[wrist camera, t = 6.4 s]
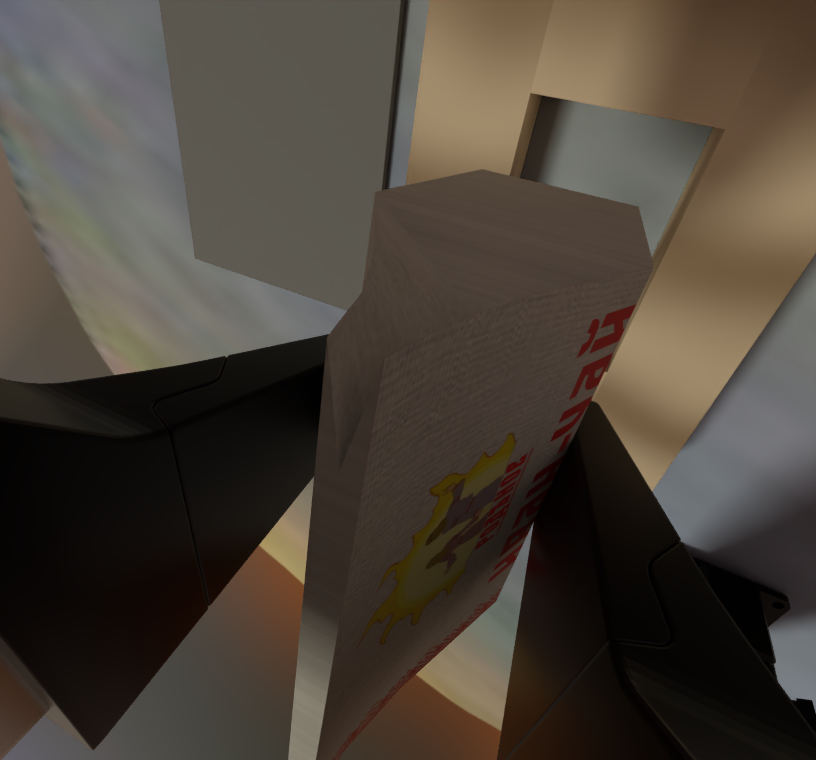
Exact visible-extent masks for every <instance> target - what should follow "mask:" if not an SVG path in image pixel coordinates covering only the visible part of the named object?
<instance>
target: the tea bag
mask: <svg viewBox="0 0 816 760" xmlns="http://www.w3.org/2000/svg"><path fill="white" fill-rule="evenodd" d="M653 269H654V265H653V261H652V257H651V253H650V250H649V246H648V242H647V238H646V234H645V230H644V226H643V222H642V219H641V215H640V211H639V207H637V206H633V205H629V204H625V203H621V202H617V201H612V200H608V199H604V198H600V197H596V196H592V195H588V194H584V193H579V192H575V191H571V190H567V189H563V188H559V187H555V186H550V185H546V184H542V183H538V182H534V181H530V180H526V179H521V178H517V177H513V176H509V175H505V174H501V173H497V172H492V171H488V170H484V169H481V170H476V171H471V172H466V173H462V174H457V175H452V176H447V177H443V178H438V179H433V180H428V181H424V182H419V183H414V184H409V185H405V186H400V187H395V188H390V189H386V190H381V191H376V192H375V196H374V204H373V212H372V219H371V227H370V235H369V242H368V250H367V258H366V266H365V273H364V281H363V289H362V293H361V294H360V295H359V297H358V298H357V299H356V300H355V302H354V303H353V304H352V306H351V307H350V308H349V309H348V311H347V312H346V313H345V315H344V316H343V317H342V319H341V320H340V321H339V322H338V324H337V325H336V326H335V328H334V329H333V330H332V331H331V333H330V334H329V335H328V337H327V344H326V355H325V366H324V376H323V387H322V398H321V409H320V420H319V431H318V442H317V453H316V464H315V474H314V485H313V496H312V507H311V518H310V529H309V540H308V551H307V562H306V572H305V583H304V594H303V605H302V617H301V627H300V638H299V649H298V660H297V671H296V682H295V693H294V704H293V714H292V726H291V736H290V747H289V758H288V760H338V759H339V757H340V756H341V755H342V753H343V752H344V750H345V749H346V748H347V746H348V745H349V744H350V743H351V742H352V741H353V740H354V739H355V738H356V736H357V735H358V734H359V733H360V732H361V731H362V730H363V729H364V727H365V726H366V725H367V724H368V723H369V722H370V721H371V720H372V719H373V718H374V716H375V715H376V714H377V713H378V712H379V711H380V710H381V709H382V708H383V706H384V705H385V704H386V703H387V702H388V701H389V700H390V699H391V698H392V696H393V695H394V694H395V693H396V692H397V691H398V690H399V689H400V688H401V687H402V686H403V685H404V684H405V683H406V682H408V681H409V680H410V679H411V678H412V677H413V676H414V675H415V674H416V673H417V672H419V671H420V670H421V669H422V668H423V667H424V666H425V665H426V664H427V663H428V662H430V661H431V660H432V659H433V658H434V657H435V656H436V655H437V654H438V653H439V652H441V651H442V650H443V649H444V648H445V647H446V646H447V645H448V644H449V643H450V642H452V641H453V640H454V639H455V638H456V637H457V636H458V635H459V634H460V633H461V632H463V631H464V630H465V629H466V628H467V627H468V626H469V625H470V624H471V623H472V622H474V621H475V620H476V619H477V618H478V617H479V616H480V615H481V614H482V613H483V612H485V611H486V610H487V609H488V608H489V607H490V606H491V605H492V604H493V603H494V602H496V600H497V598H498V596H499V594H500V592H501V589H502V587H503V585H504V583H505V581H506V579H507V577H508V575H509V573H510V570H511V568H512V566H513V564H514V562H515V560H516V558H517V556H518V554H519V551H520V549H521V547H522V545H523V543H524V541H525V539H526V537H527V535H528V532H529V530H530V528H531V526H532V524H533V522H534V520H535V518H536V516H537V513H538V511H539V509H540V507H541V505H542V503H543V501H544V499H545V497H546V494H547V492H548V490H549V488H550V486H551V484H552V482H553V480H554V478H555V475H556V473H557V471H558V469H559V467H560V465H561V463H562V461H563V459H564V456H565V454H566V452H567V450H568V448H569V446H570V444H571V442H572V440H573V437H574V435H575V433H576V431H577V429H578V427H579V425H580V423H581V421H582V419H583V416H584V414H585V412H586V410H587V408H588V406H589V404H590V402H591V400H592V397H593V395H594V393H595V391H596V389H597V387H598V385H599V383H600V381H601V378H602V376H603V374H604V372H605V370H606V368H607V366H608V364H609V362H610V359H611V357H612V355H613V353H614V351H615V349H616V347H617V345H618V343H619V340H620V338H621V336H622V334H623V332H624V330H625V328H626V326H627V324H628V321H629V319H630V317H631V315H632V313H633V311H634V309H635V307H636V305H637V302H638V300H639V298H640V296H641V294H642V292H643V290H644V288H645V286H646V283H647V281H648V279H649V277H650V275H651V273H652V271H653Z"/></svg>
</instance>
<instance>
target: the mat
mask: <svg viewBox="0 0 816 760" xmlns="http://www.w3.org/2000/svg"><path fill="white" fill-rule="evenodd" d="M159 4H160V11H161V18H162V25H163V32H164V39H165V46H166V53H167V61H168V68H169V75H170V82H171V89H172V96H173V103H174V110H175V117H176V125H177V132H178V139H179V146H180V153H181V160H182V167H183V174H184V182H185V189H186V196H187V203H188V210H189V217H190V224H191V231H192V239H193V246H194V253H195V259H198V260H201V261H204V262H207V263H210V264H213V265H216V266H219V267H222V268H225V269H227V270H230V271H233V272H236V273H239V274H242V275H245V276H248V277H251V278H254V279H257V280H260V281H262V282H265V283H268V284H271V285H274V286H277V287H280V288H283V289H286V290H289V291H292V292H295V293H298V294H300V295H303V296H306V297H309V298H312V299H315V300H318V301H321V302H324V303H327V304H330V305H333V306H336V307H338V308H341V309H344V310H347V311H348V309H349V308H350V307H351V306H352V304H353V303H354V302H355V300H356V299H357V298H358V297H359V295H360V294H361V293H362V289H363V281H364V273H365V266H366V258H367V250H368V242H369V235H370V227H371V219H372V212H373V204H374V196H375V192H376V191H381V190H385V188H386V179H387V169H388V159H389V150H390V140H391V131H392V121H393V112H394V102H395V93H396V83H397V74H398V64H399V55H400V45H401V36H402V26H403V16H404V7H405V0H159Z"/></svg>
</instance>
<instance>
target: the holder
mask: <svg viewBox="0 0 816 760" xmlns="http://www.w3.org/2000/svg"><path fill="white" fill-rule="evenodd" d="M542 95H544V96H549V97H554V98H560V99H565V100H571V101H576V102H581V103H587V104H592V105H597V106H603V107H608V108H613V109H619V110H624V111H630V112H635V113H640V114H646V115H651V116H656V117H662V118H667V119H673V120H678V121H683V122H689V123H694V124H699V125H705V126H710V127H713V129H712V131H711V134H710V136H709V138H708V140H707V142H706V144H705V146H704V148H703V150H702V153H701V155H700V157H699V159H698V161H697V163H696V165H695V167H694V170H693V172H692V174H691V176H690V178H689V180H688V182H687V184H686V187H685V189H684V191H683V193H682V195H681V197H680V199H679V201H678V203H677V206H676V208H675V210H674V212H673V214H672V216H671V218H670V220H669V223H668V225H667V227H666V229H665V231H664V233H663V235H662V237H661V239H660V242H659V244H658V246H657V248H656V250H655V252H654V254H653V256H652V261H653V265H654V269H653V271H652V273H651V275H650V277H649V279H648V281H647V283H646V286H645V288H644V290H643V292H642V294H641V296H640V298H639V300H638V302H637V305H636V307H635V309H634V311H633V313H632V315H631V317H630V319H629V321H628V324H627V326H626V328H625V330H624V332H623V334H622V336H621V338H620V340H619V343H618V345H617V347H616V349H615V351H614V353H613V355H612V357H611V359H610V362H609V364H608V366H607V368H606V370H605V372H604V374H603V376H602V378H601V381H600V383H599V385H598V387H597V389H596V391H595V393H594V395H593V397H592V401H594V402H597V403H598V404H599V405H600V406H601V408H602V409H603V411H604V413H605V414H606V416H607V418H608V419H609V421H610V423H611V424H612V426H613V428H614V429H615V431H616V433H617V434H618V436H619V438H620V439H621V441H622V443H623V444H624V446H625V448H626V449H627V451H628V453H629V454H630V456H631V457H632V459H633V461H634V462H635V464H636V466H637V467H638V469H639V471H640V472H641V474H642V476H643V477H644V479H645V481H646V482H647V484H648V486H649V487H650V489H651V491H653V489H654V488H655V486H656V485H657V483H658V482H659V480H660V479H661V478H662V476H663V475H664V473H665V472H666V470H667V469H668V467H669V466H670V464H671V463H672V462H673V460H674V459H675V457H676V456H677V454H678V453H679V451H680V450H681V448H682V447H683V446H684V444H685V443H686V441H687V440H688V438H689V437H690V435H691V434H692V432H693V431H694V430H695V428H696V427H697V425H698V424H699V422H700V421H701V419H702V418H703V416H704V415H705V414H706V412H707V411H708V409H709V408H710V406H711V405H712V403H713V402H714V400H715V399H716V398H717V396H718V395H719V393H720V392H721V390H722V389H723V387H724V386H725V384H726V383H727V382H728V380H729V379H730V377H731V376H732V374H733V373H734V371H735V370H736V368H737V367H738V366H739V364H740V363H741V361H742V360H743V358H744V357H745V355H746V354H747V352H748V351H749V350H750V348H751V347H752V345H753V344H754V342H755V341H756V339H757V338H758V336H759V335H760V334H761V332H762V331H763V329H764V328H765V326H766V325H767V323H768V322H769V320H770V319H771V318H772V316H773V315H774V313H775V312H776V310H777V309H778V307H779V306H780V304H781V303H782V302H783V300H784V299H785V297H786V296H787V294H788V293H789V291H790V290H791V288H792V287H793V286H794V284H795V283H796V281H797V280H798V278H799V277H800V275H801V274H802V272H803V271H804V270H805V268H806V267H807V265H808V264H809V262H810V261H811V259H812V258H813V256H814V255H815V254H816V0H430V1H429V9H428V17H427V25H426V32H425V40H424V48H423V56H422V63H421V71H420V79H419V87H418V94H417V102H416V110H415V118H414V125H413V133H412V141H411V148H410V156H409V164H408V172H407V179H406V185H409V184H414V183H419V182H424V181H428V180H433V179H438V178H443V177H447V176H452V175H457V174H462V173H466V172H471V171H476V170H481V169H484V170H488V171H492V172H497V173H501V174H505V175H509V176H513V177H517V178H520V176H521V173H522V169H523V165H524V161H525V158H526V154H527V150H528V146H529V143H530V139H531V135H532V131H533V128H534V124H535V120H536V116H537V113H538V109H539V105H540V101H541V98H542Z"/></svg>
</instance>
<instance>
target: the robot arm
mask: <svg viewBox="0 0 816 760" xmlns="http://www.w3.org/2000/svg"><path fill="white" fill-rule="evenodd" d="M328 335H329V334H327V335H323V336H318V337H313V338H308V339H304V340H299V341H294V342H289V343H285V344H280V345H275V346H270V347H266V348H261V349H256V350H251V351H247V352H242V353H237V354H232V355H229V356H228V357H227V358H226V357H225V356H222V357H218V358H213V359H208V360H203V361H198V362H193V363H188V364H183V365H177V366H171V367H165V368H159V369H152V370H146V371H139V372H132V373H126V374H119V375H112V376H106V377H99V378H92V379H85V380H78V381H72V382H64V383H47V384H38V383H24V382H16V381H11V380H6V379H2V378H0V760H2V759H3V758H4V757H5V756H6V754H8V752H9V751H10V750H11V749H12V748H13V747H14V746H15V745H16V744H17V743H18V742H19V741H20V740H21V739H22V738H23V737H24V736H25V735H26V733H28V731H29V730H30V729H31V728H32V727H33V726H34V725H35V724H36V723H37V722H38V721H39V720H40V719H41V718H42V717H43V716H44V715H45V716H46V717H47V718H49V719H50V720H51V721H53V722H54V723H55V724H57V725H58V726H59V727H61V728H62V729H64V730H65V731H66V732H68V733H69V734H70V735H72V736H73V737H74V738H76V739H77V740H79V741H80V742H81V743H83V744H84V745H85V746H87V747H88V748H89V749H91V750H94V749H95V748H96V747H97V746H98V745H99V744H100V743H101V741H102V740H103V739H104V738H105V737H106V736H107V734H108V733H109V732H110V730H111V729H112V728H113V727H114V726H115V724H116V723H117V722H118V720H119V719H120V718H121V717H122V716H123V714H124V713H125V712H126V711H127V709H128V708H129V707H130V705H131V704H132V703H133V702H134V701H135V699H136V698H137V697H138V696H139V694H140V693H141V692H142V691H143V689H144V688H145V687H146V686H147V684H148V683H149V682H150V681H151V679H152V678H153V677H154V676H155V674H156V673H157V672H158V670H159V669H160V668H161V667H162V666H163V664H164V663H165V662H166V661H167V660H168V658H169V657H170V656H171V654H172V653H173V652H174V651H175V649H176V648H177V647H178V646H179V644H180V643H181V642H182V641H183V640H184V638H185V637H186V636H187V635H188V633H189V632H190V631H191V629H192V628H193V627H194V626H195V624H196V623H197V622H198V621H199V619H200V618H201V617H202V616H203V615H204V613H205V612H206V611H207V610H208V606H210V605H211V604H212V603H213V602H214V600H215V599H216V598H217V597H218V595H219V594H220V593H221V592H222V590H223V589H224V588H225V587H226V585H227V584H228V583H229V582H230V580H231V579H232V578H233V577H234V575H235V574H236V573H237V572H238V570H239V569H240V568H241V567H242V565H243V564H244V563H245V561H246V560H247V559H248V558H249V557H250V555H251V554H252V553H253V552H254V550H255V549H256V548H257V547H258V545H259V544H260V543H261V542H262V540H263V539H264V538H265V537H266V535H267V534H268V533H269V532H270V530H271V529H272V528H273V527H274V526H275V524H276V523H277V522H278V521H279V519H280V518H281V517H282V516H283V514H284V513H285V512H286V511H287V509H288V508H289V507H290V506H291V504H292V503H293V502H294V501H295V499H296V498H297V497H298V496H299V494H300V493H301V492H302V491H303V489H304V488H305V487H306V486H307V484H308V483H309V482H310V481H311V479H312V478H313V477H314V474H315V464H316V453H317V442H318V431H319V420H320V409H321V398H322V387H323V376H324V366H325V355H326V344H327V337H328ZM680 541H681V539H680V537H679V535H678V534H677V532H676V530H675V529H674V527H673V525H672V524H671V522H670V520H669V519H668V517H667V515H666V514H665V512H664V510H663V509H662V507H661V505H660V504H659V502H658V501H657V499H656V497H655V496H654V494H653V492H652V491H651V489H650V487H649V486H648V484H647V482H646V481H645V479H644V477H643V476H642V474H641V472H640V471H639V469H638V467H637V466H636V464H635V462H634V461H633V459H632V457H631V456H630V454H629V453H628V451H627V449H626V448H625V446H624V444H623V443H622V441H621V439H620V438H619V436H618V434H617V433H616V431H615V429H614V428H613V426H612V424H611V423H610V421H609V419H608V418H607V416H606V414H605V413H604V411H603V409H602V408H601V406H600V405H599V404H598V403H597V402H594V401H592V400H591V402H590V404H589V406H588V408H587V410H586V412H585V414H584V416H583V419H582V421H581V423H580V425H579V427H578V429H577V431H576V433H575V435H574V437H573V440H572V442H571V444H570V446H569V448H568V450H567V452H566V454H565V456H564V459H563V461H562V463H561V465H560V467H559V469H558V471H557V473H556V475H555V478H554V480H553V482H552V484H551V486H550V488H549V490H548V492H547V494H546V497H545V499H544V501H543V503H542V505H541V507H540V509H539V511H538V513H537V516H536V518H535V520H534V524H533V531H532V537H531V544H530V550H529V557H528V563H527V569H526V576H525V582H524V589H523V595H522V602H521V608H520V614H519V621H518V627H517V634H516V640H515V646H514V653H513V659H512V666H511V672H510V679H509V685H508V691H507V698H506V704H505V711H504V717H503V723H502V730H501V736H500V743H499V749H498V756H497V760H816V713H815V709H814V706H813V702H812V700H806V699H798V698H796V700H797V701H795V700H791V699H790V698H789V696H788V695H787V694H786V692H785V691H784V690H783V688H782V687H781V685H780V684H779V683H778V680H777V675H776V671H775V667H774V663H776V658H775V654H774V650H773V646H772V642H771V637H770V633H769V629H768V627H769V626H770V625H771V624H772V623H773V622H775V621H776V620H777V619H778V618H780V617H781V616H782V615H783V614H785V613H786V612H787V611H788V610H789V609H790V603H789V600H788V598H787V597H786V596H785V595H784V594H782V593H779V592H777V591H774V590H772V589H769V588H767V587H764V586H762V585H759V584H757V583H755V582H752V581H750V580H747V579H745V578H742V577H740V576H737V575H735V574H732V573H730V572H728V571H725V570H723V569H720V568H718V567H715V566H713V565H710V564H708V563H706V562H703V561H701V560H698V559H696V558H693V557H692V556H691V555H690V553H689V551H688V550H687V548H686V546H685V545H684V544H683V543H682V542H680Z"/></svg>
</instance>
